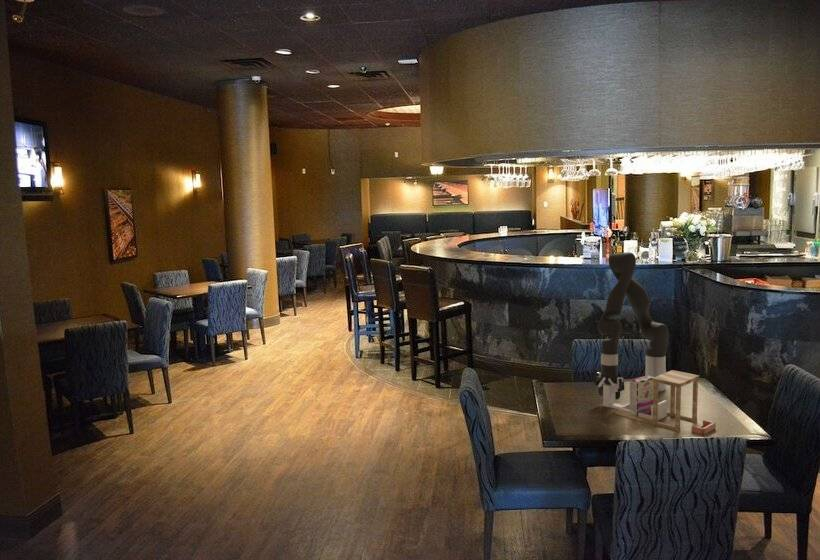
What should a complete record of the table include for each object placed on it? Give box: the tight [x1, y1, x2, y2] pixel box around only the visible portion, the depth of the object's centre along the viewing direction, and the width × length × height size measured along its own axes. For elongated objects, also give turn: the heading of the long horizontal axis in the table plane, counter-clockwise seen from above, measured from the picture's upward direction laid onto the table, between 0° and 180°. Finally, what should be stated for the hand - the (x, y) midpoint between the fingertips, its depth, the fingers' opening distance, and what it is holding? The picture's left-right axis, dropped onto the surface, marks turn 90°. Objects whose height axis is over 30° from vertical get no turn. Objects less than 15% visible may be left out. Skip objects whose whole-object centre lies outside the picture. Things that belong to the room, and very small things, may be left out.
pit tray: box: [691, 419, 717, 437], centre depth 277 cm, size 10×5×3 cm, turn 130°
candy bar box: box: [629, 375, 654, 416], centre depth 297 cm, size 11×5×16 cm, turn 118°
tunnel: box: [614, 369, 700, 432], centre depth 292 cm, size 16×30×20 cm, turn 40°
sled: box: [602, 384, 668, 421], centre depth 301 cm, size 11×27×10 cm, turn 40°
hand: (609, 397), depth 310 cm, fingers open, 8 cm apart
